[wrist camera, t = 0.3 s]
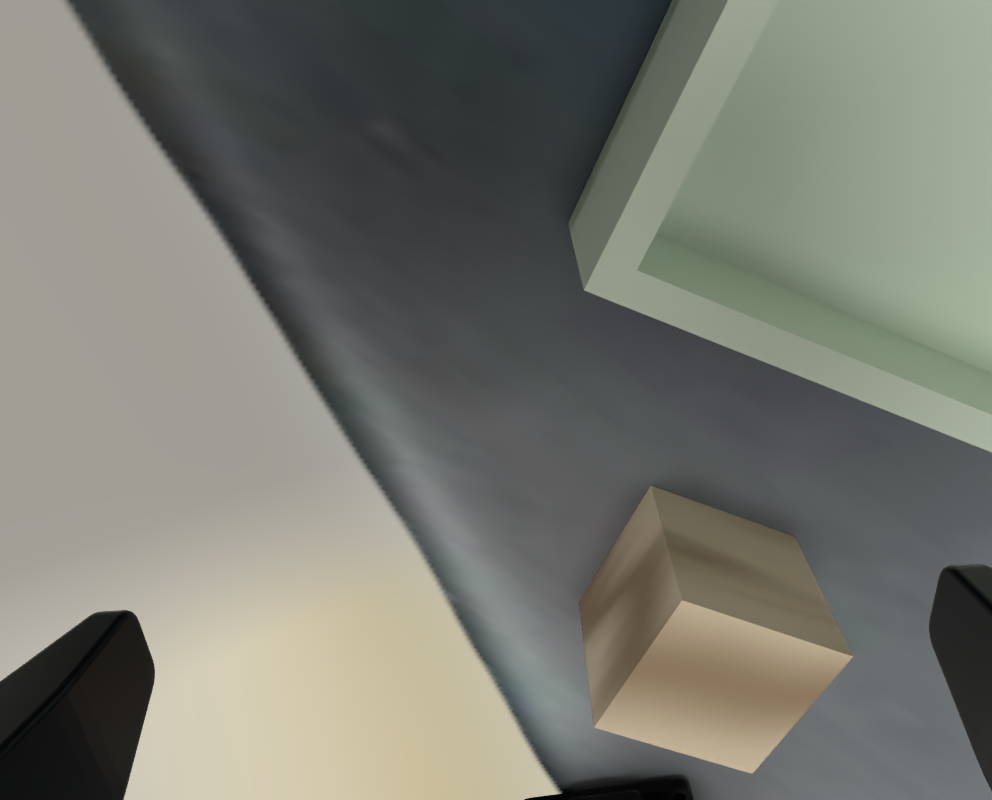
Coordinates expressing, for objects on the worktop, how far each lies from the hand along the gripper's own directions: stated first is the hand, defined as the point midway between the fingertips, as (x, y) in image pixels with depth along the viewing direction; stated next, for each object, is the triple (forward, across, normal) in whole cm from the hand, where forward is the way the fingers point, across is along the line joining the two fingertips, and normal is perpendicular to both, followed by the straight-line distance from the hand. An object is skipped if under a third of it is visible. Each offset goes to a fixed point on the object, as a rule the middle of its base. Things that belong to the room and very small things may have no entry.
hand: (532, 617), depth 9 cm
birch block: (+14, -5, +11) cm, 18 cm away
